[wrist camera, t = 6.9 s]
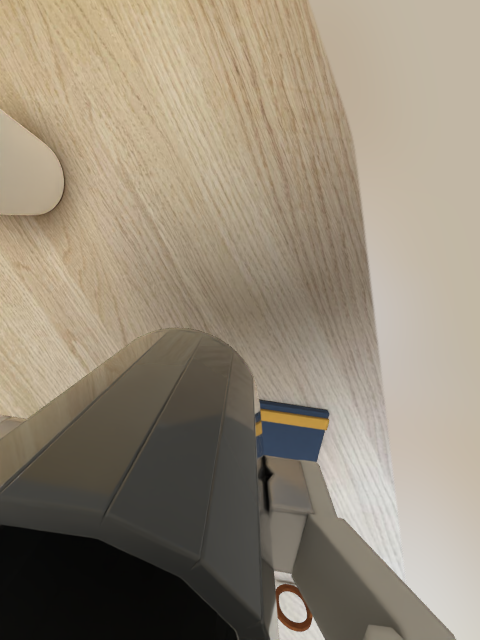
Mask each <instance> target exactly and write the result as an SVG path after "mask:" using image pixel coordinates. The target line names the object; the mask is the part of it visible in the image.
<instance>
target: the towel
mask: <svg viewBox="0 0 480 640" xmlns="http://www.w3.org/2000/svg"><path fill="white" fill-rule="evenodd" d="M259 402H260V411H261V423H262V435H263V447H264V455H267V456H274V457H281V458H288V459H295V460H306V461H313V462H317V458H318V454H319V451H320V447H321V443H322V439H323V436H324V432H325V430H327V427H328V424H329V419H328V417H329V412H328V410H323V409H316V408H309V407H303V406H296V405H289V404H283V403H276V402H269V401H262V400H259Z"/></svg>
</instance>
